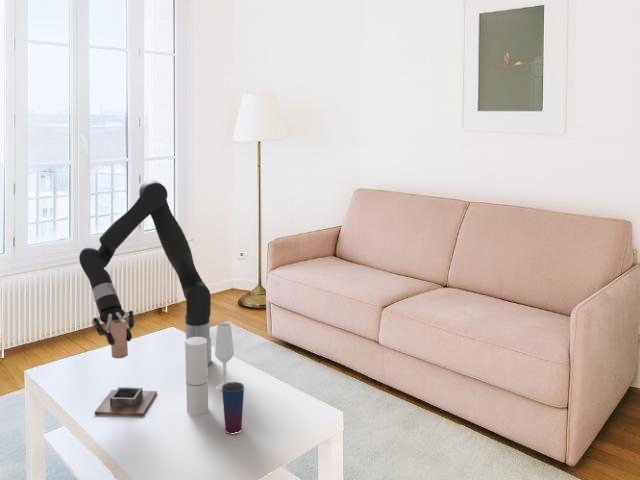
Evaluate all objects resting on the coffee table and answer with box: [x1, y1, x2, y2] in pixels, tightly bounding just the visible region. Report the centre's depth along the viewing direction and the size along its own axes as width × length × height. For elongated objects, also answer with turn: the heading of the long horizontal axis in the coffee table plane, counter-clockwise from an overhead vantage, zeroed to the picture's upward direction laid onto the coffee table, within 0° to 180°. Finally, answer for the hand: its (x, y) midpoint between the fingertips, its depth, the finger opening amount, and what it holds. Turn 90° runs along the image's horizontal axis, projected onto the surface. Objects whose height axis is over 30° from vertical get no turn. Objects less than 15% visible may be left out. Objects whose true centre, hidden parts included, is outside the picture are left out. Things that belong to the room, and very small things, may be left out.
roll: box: [110, 318, 129, 359], centre depth 213 cm, size 5×5×12 cm
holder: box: [94, 386, 158, 417], centre depth 215 cm, size 16×16×4 cm
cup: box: [221, 381, 245, 433], centre depth 199 cm, size 7×7×15 cm
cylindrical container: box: [184, 337, 210, 417], centre depth 209 cm, size 7×7×25 cm
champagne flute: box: [214, 322, 235, 391], centre depth 227 cm, size 7×7×24 cm
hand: (121, 342), depth 212 cm, fingers closed on roll, 5 cm apart
